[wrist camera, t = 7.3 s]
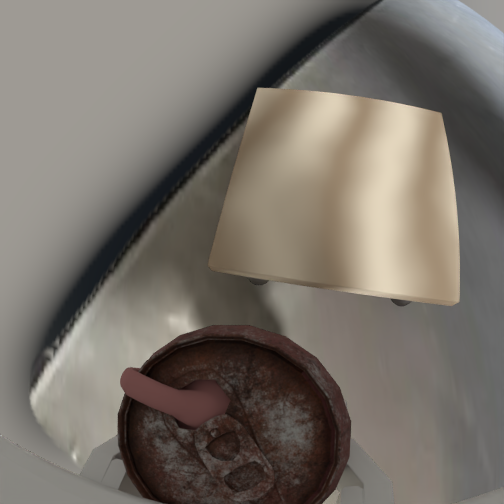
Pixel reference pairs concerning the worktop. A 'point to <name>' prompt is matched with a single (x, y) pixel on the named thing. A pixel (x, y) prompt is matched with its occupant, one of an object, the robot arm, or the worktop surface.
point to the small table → (342, 199)
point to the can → (233, 421)
